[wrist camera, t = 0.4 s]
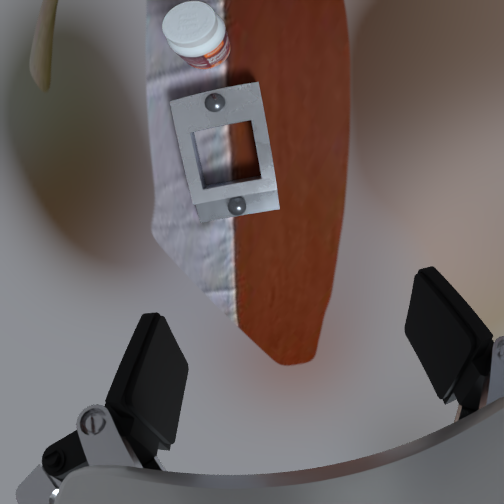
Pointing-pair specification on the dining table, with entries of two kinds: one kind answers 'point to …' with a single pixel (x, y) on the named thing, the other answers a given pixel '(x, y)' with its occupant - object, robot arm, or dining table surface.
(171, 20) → the pill bottle
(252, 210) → the slotted white bracket
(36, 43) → the dining table surface
